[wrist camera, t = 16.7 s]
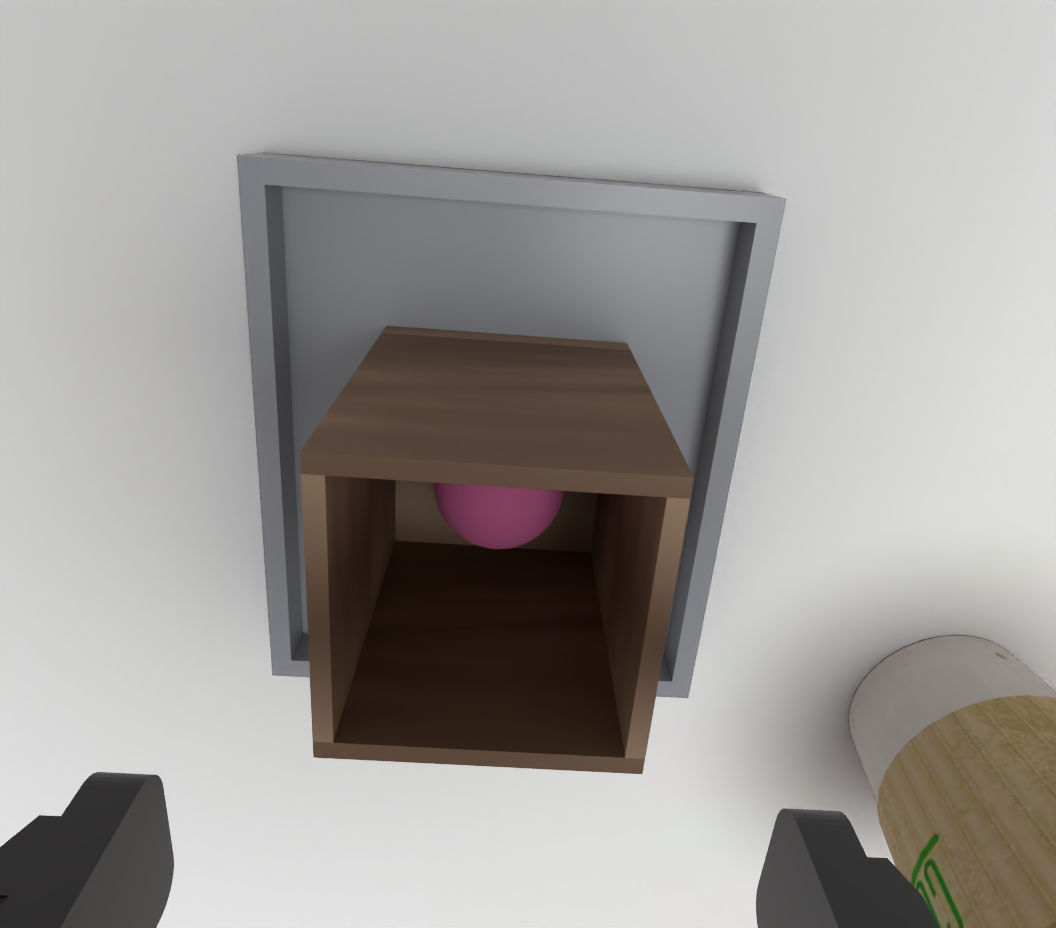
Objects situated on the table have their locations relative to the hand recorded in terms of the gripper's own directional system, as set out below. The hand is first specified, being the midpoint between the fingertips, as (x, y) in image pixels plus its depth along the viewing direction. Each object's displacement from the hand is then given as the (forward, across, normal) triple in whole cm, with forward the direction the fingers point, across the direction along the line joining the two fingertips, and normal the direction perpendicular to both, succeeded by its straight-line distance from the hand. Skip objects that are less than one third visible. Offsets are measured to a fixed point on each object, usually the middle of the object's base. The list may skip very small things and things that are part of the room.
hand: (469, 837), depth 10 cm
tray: (+14, 0, 0) cm, 14 cm away
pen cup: (+14, 0, 0) cm, 14 cm away
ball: (+11, 0, 0) cm, 11 cm away
